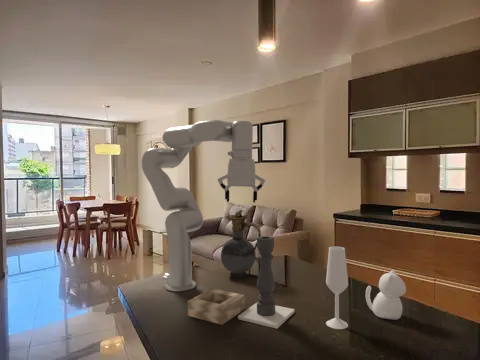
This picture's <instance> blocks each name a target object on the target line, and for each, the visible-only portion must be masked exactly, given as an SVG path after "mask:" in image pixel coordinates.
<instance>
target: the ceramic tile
mask: <svg viewBox="0 0 480 360" xmlns="http://www.w3.org/2000/svg"><path fill="white" fill-rule="evenodd" d="M294 313H295V308H290V307H284V306H281V305H276V304H275V314H274V315H272V316H261V315H258V314H257V302H255V303H254V304H252V305H251V306H250V307H248V308H247V309H245V310H243V311H242V312H240V313H239V314H238V315H237V319H238V320H241V321H245V322H249V323H252V324H255V325H256V324H257V325H260V326H264V327H268V328H272V329H279V328H280V327H281V326H282V325H283V323H285V322H286V321H287V320H288V319H289V318H290V317H291V316H292V315H293V314H294Z"/></svg>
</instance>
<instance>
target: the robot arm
mask: <svg viewBox="0 0 480 360" xmlns="http://www.w3.org/2000/svg"><path fill="white" fill-rule="evenodd" d="M253 128H254V125H253V122H251V121H248V120H235V121H233V122H230V121H224V120H220V119H211V120H204V121H198V122H195V123H193V124H190V125H183V126H174V127H170V128H167V129H166V130H165V131H164V132H163V134H162V141H163V144H164V145H166V146H167V147H168V148H163V147H151V148H149V149H147V150H146V151H144V153H143V155H142V158H141V169H142V172H143V174H144V176H145V177H146V179H147V181H148V182H149V184H150V186H151V188H152V191H153V193H154V195H155V197H156V200H157V202H158V205H159V206H160V208H161V209H162V210H163V211H165V212H167V211H168V212H171V211H173V212H171V213H169V214H168V215H167V216H166V218H165V222H164V225H165V226H164V227H165V231H166V235H167V236H166V237H167V250H168V253H167V255H168V257H167V258H168V273H167V272H166V273H165V274H164V276H162V280H165V281H166V282H165V284H164V288H165V289H166V290H168V291H170V292H186V291H191V290H193V289H194V288H196V285H197V284H196V281H195V280H193V275H192V274H193V273H192V271H193V268H192V266H193V265H192V263H193V261H192V259H193V258H192V243H191V242H192V241H191V239H190V236H189V234H188V233H191V232H195V231H197V230H199V229H200V228H202V226H203V224H204V218H203V214H202V212H201V209H200V207H199V206H198V203H197V202H196V199H195V197H194V195H193V193H192V192H191V191H190V189H188V188H186V187H175V186H174V184H173V182H172V180H171V177H170V176H169V175H168V174H167V172H166V171H164V169H167V168H168V169H169V168H170V169H174V168H176V167H179V165H180V164H182V162H183V161H184V159H185V158H186V156H188V154H189V153H190V151H191V150H192V148H193V147H198V146H199V145H201V144H202V143H203V142H223V143H225V142H226V143H231V150H230V151H227V156H230V157H231V158H229V159H228V164H227V174H225V175H223V176H221V177H219V178H217V181H218V183H219V186H220V187H221V188H222V189H223V190H224V200H225V201H226V203H229V202H230V190H229V189H230V188H231V187H245V188H247V187H251V188H252V189H253V193H252V201H253V203H254V204H255V203H256V201H258V192H259V190H261V189H262V187H263V186H264V184H265V183H266V179H264V178H263V177H260V176H259V175H257V174H256V163H255V158H253V138H254V135H253V133H254V129H253ZM162 168H163V169H162ZM224 180H226V181H227V185H226V184H225V183H224V182H223V181H224ZM256 180H257V181H259V182H260V183H259V184H258V185H257V186H256V185H255V184H256Z"/></svg>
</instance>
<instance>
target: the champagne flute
mask: <svg viewBox="0 0 480 360" xmlns="http://www.w3.org/2000/svg"><path fill="white" fill-rule="evenodd" d="M327 254H328V255H327V256H328V257H327V268H326V277H325V284H326V286H327V287H328V289H329V290H330V291H331V292H332V293H333V294H334V318H331V319H329V320H327V321H326V322H325V325H326V326H327V327H329V328H331V329H335V330H343V329H347V328H348V327H349V325H348V323H347V322H346V321H345V320H343V319H341V318H340V294H342V293H343V292H344V291H345V290H346V289H348V286H349V278H348V269H347V268H348V267H347V257H346V248H345V247H342V246H337V245H335V246H329V247H328V253H327Z"/></svg>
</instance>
